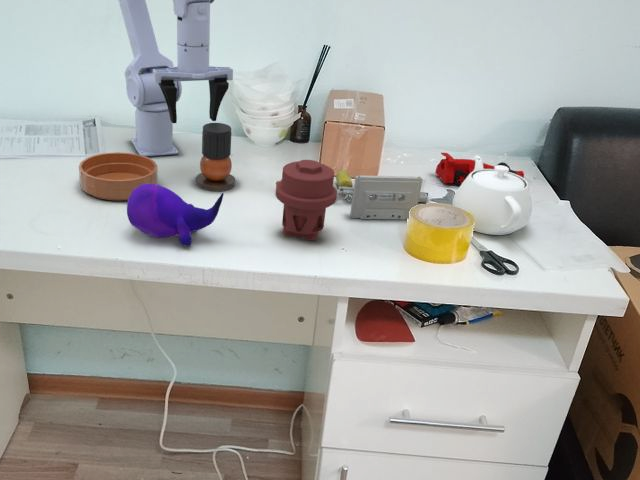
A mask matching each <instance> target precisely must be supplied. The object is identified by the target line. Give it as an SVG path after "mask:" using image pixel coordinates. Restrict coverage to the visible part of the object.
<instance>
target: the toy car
mask: <svg viewBox="0 0 640 480" xmlns="http://www.w3.org/2000/svg"><path fill="white" fill-rule="evenodd" d="M440 155H441V156H443V157H445V158H442V159H440V161H439V162H438V164H437V165H436V168H435V171H434V172H435V175H436V176H437V177H438V178H440V180H441V181H442V182H443V183H444V184H453V183H455V184H456V185H457V186H458V187H460V186H461V184H462V183H463V182H464V180H465V179H466V178H467V177H468V175H469V174H470V173H471V172H473V171H474V168H475V159H469V158H454V157H453V156H452V155H451V154H449V152H440ZM497 165H502V166H506V167H508V168H509V171H508V172H511V173H514V174H517V175H519V176H521V177H523V178H524V179H525V173H524V171H523V170H513V169H511V167H510V166H509V165H508V164H507V163H506V162H502V161H501V162H499V163H497V164H496V165H492V164H488V163H486V162H483V168H484V169H495V168H494V167H495V166H497Z"/></svg>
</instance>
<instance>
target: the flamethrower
mask: <svg viewBox="0 0 640 480" xmlns="http://www.w3.org/2000/svg"><path fill="white" fill-rule="evenodd" d="M281 181H282V178H281V179H280V180H276V182H275V187H276V186H277V184H278V183H279V182H281ZM335 181H336V183H337V186H338V189H337V196H339V195H342V196H344V198H336V201H344V200H347V202H349V203H350V202H352V197H353V190H354V184H353V182H352V179H351V176H350V172H349V171H348V170H345V169H341V170H338V172H337V173H336V175H335ZM373 195H374V194H372V195H370V197H372V196H373ZM401 196H402V194H401V195H399V196H398V197H401ZM428 196H429V192H423V191H422V192H421V191H420V196H419V201H418V203H427V201H428ZM392 197H393V193H380V196H379V198H392ZM349 198H350V199H349Z"/></svg>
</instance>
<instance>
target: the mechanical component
mask: <svg viewBox="0 0 640 480" xmlns="http://www.w3.org/2000/svg"><path fill="white" fill-rule="evenodd" d="M281 179H282V181H281V180H280V181H281V182H279V183H278V184H277V186H276V185H275V197H276V199H277V200H278V201H279V202H280V203H282V204H283V207H282V208H283V210H282V221H281V226H282V235H283V236H285V237H293V238H300V239H305V240H308V241H310V242H316V241H318V240H319V233H320V232H322V230H324V227H325V221H326V220H325V219H326V210H327V208H329V207H331V206H333V205H334V204H335V203H336V201H337V200H336V199H338V195H337V191H338V189H337V188H336V187H335V186H334V182H335V181H334V179H335V171H334V169H333V168H332V167H330V166H328V165H326V164H324V163H321V162H319V161H317V160H313V159H301V160H296V161H291V162H289V163H285V165H284V166H283V167H282V173H281Z"/></svg>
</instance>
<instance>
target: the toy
mask: <svg viewBox="0 0 640 480" xmlns="http://www.w3.org/2000/svg"><path fill="white" fill-rule="evenodd" d="M224 195H225V194H224V192H221V194H220V196H219V197H218V198H217V200H216V201H215V203H214V204H213V205H212V206H211V207H210V208H208V209H205V208H202V207H197V206H195V205H193V204H192V203H187V202H186V201H185V200H183V198H182V197H181V196H180V195H178V194H177V193H176V192H174V191H172V190H171V189H169V188H167V187H165V186H163V185H159V184H158V185H156V184H143V185H140V186H138V187H137V188H135V189H134V190H133V192H132V193H131V195H130V197H129V200H127V204H126V215H127V219H128V221H129V224H130V225H131V226H132V227H134V228H136V229H137V230H138V231H139V232H140V233H142V234H144V235H146V236H150V237H152V238H156V239H165V238H166V239H167V238H172V237H176V236H178V240H179V243H180V244H181V245H182V246H184V247H190V245H191V244H192V243H193V238H192V236H191V233H193V232H196V231H199V230H202V229H204V228H206V227H209V226H210V225H212V224H213V223H214V221H215V220H216V218H217V217H218V214H219V211H220V208H221V205H222V202H223V199H224Z"/></svg>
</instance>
